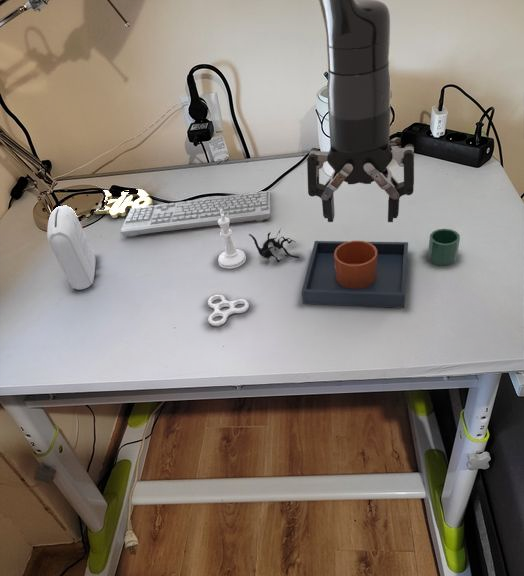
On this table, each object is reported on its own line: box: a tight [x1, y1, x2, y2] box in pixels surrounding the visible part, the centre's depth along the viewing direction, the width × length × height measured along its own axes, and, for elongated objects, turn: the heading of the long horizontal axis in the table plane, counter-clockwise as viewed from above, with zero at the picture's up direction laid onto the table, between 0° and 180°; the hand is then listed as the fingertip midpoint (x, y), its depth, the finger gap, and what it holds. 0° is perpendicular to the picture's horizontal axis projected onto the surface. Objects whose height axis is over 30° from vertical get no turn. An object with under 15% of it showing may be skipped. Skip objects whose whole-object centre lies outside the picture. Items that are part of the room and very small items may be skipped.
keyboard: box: [119, 190, 271, 238], centre depth 100 cm, size 29×10×2 cm, turn 90°
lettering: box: [84, 189, 154, 219], centre depth 109 cm, size 25×10×1 cm, turn 80°
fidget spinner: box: [207, 294, 250, 327], centre depth 80 cm, size 7×6×1 cm
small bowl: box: [427, 228, 461, 267], centre depth 80 cm, size 4×4×4 cm
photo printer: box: [46, 205, 96, 291], centre depth 88 cm, size 10×4×12 cm, turn 11°
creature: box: [248, 228, 300, 263], centre depth 87 cm, size 8×5×8 cm
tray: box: [301, 240, 409, 309], centre depth 80 cm, size 15×13×2 cm
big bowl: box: [334, 240, 378, 289], centre depth 79 cm, size 6×6×4 cm
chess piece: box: [217, 209, 247, 269], centre depth 86 cm, size 5×5×10 cm
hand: (360, 219), depth 74 cm, fingers open, 8 cm apart
